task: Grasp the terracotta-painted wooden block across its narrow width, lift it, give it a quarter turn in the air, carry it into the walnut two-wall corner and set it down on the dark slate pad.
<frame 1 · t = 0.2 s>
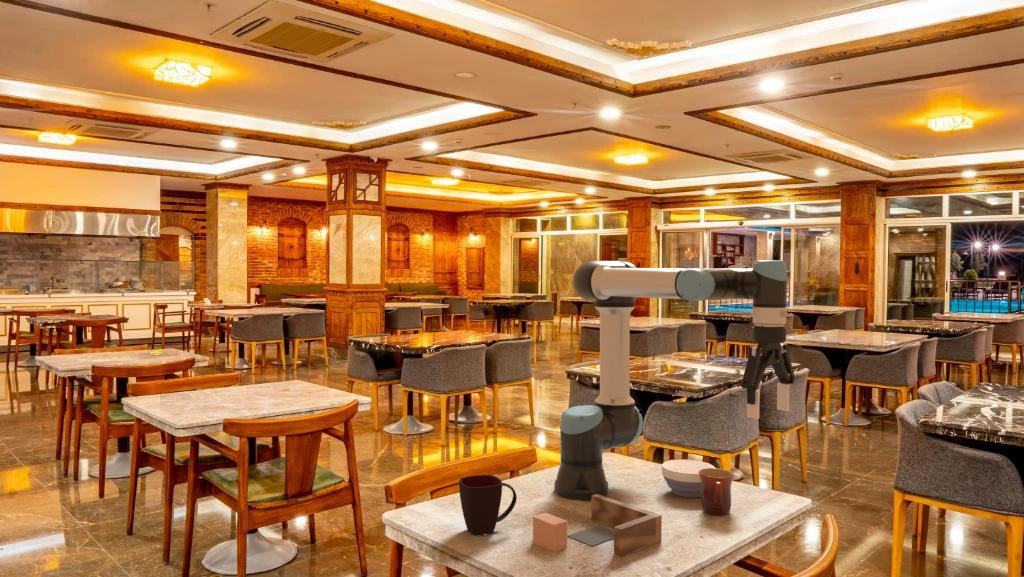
hand: (768, 414, 169), 28 cm above the table, fingers open, 13 cm apart
mug 2: (488, 530, 169), on the table
block: (549, 545, 160), on the table
bowl: (688, 494, 198), on the table
corner walls: (624, 529, 170), on the table
mug: (716, 515, 180), on the table
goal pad: (595, 535, 166), on the table
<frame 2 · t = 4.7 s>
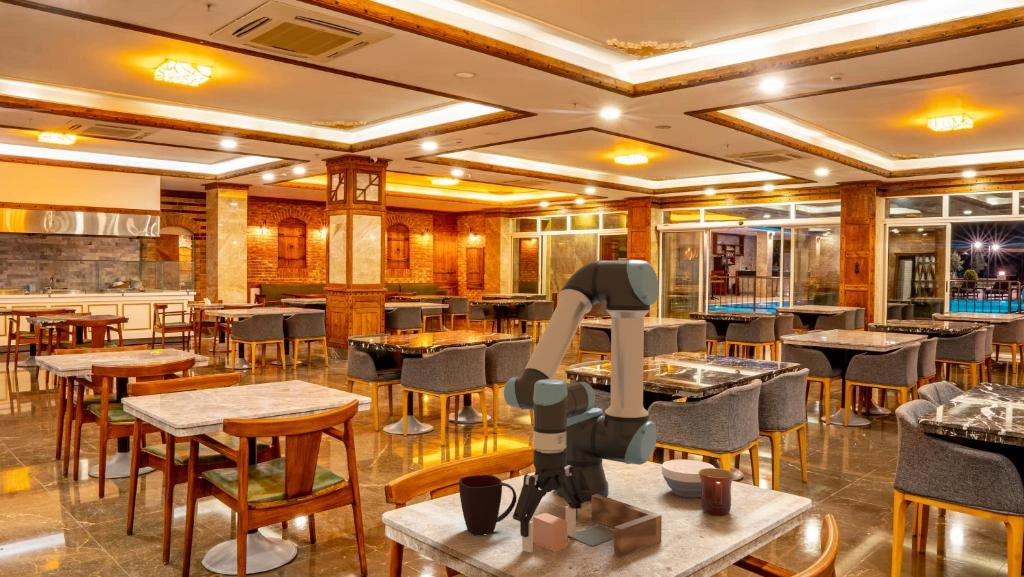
hand: (549, 542, 160), 0 cm above the table, fingers open, 13 cm apart
nothing on the table moved.
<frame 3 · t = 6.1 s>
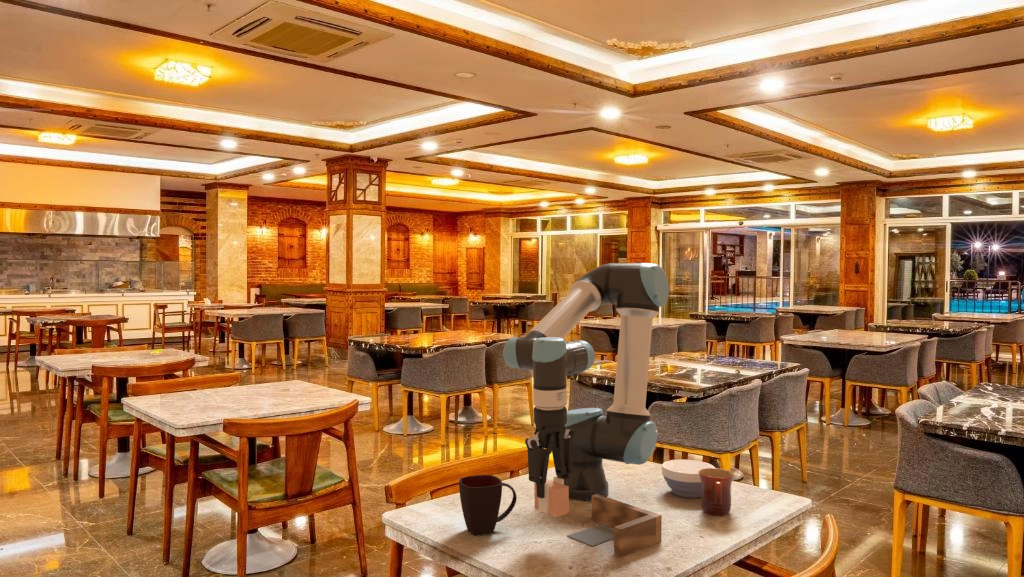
hand: (551, 508, 161), 8 cm above the table, fingers closed on block, 4 cm apart
block: (551, 510, 161), point 8 cm above the table, touching gripper
everything else where it was.
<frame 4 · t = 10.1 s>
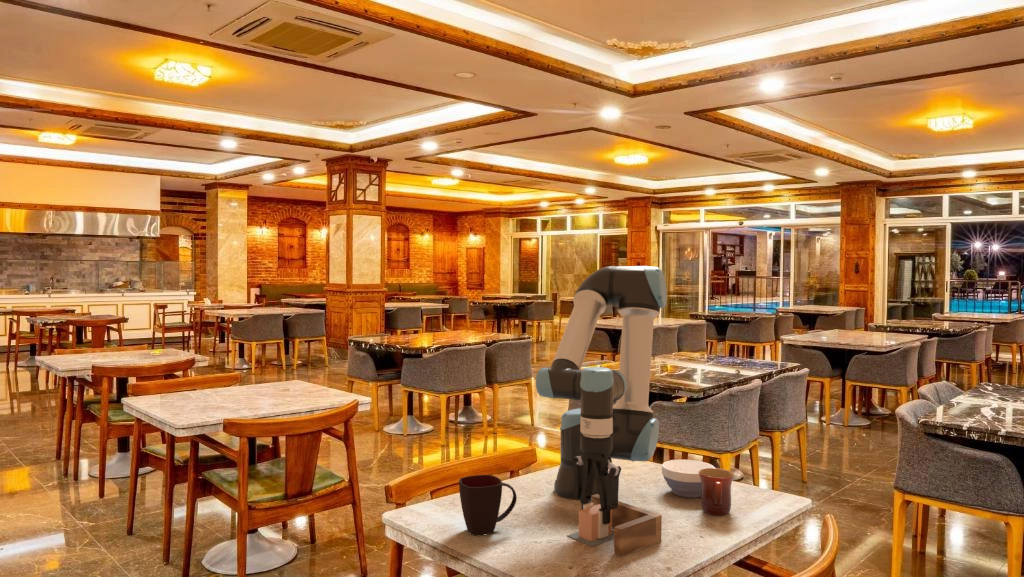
hand: (595, 533, 166), 0 cm above the table, fingers closed on block, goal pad, 4 cm apart
block: (595, 535, 166), resting on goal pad, touching gripper
everything else where it was.
when the fingers open (0 cm above the table, at t = 11.5 s): block stays where it is, resting on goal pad.
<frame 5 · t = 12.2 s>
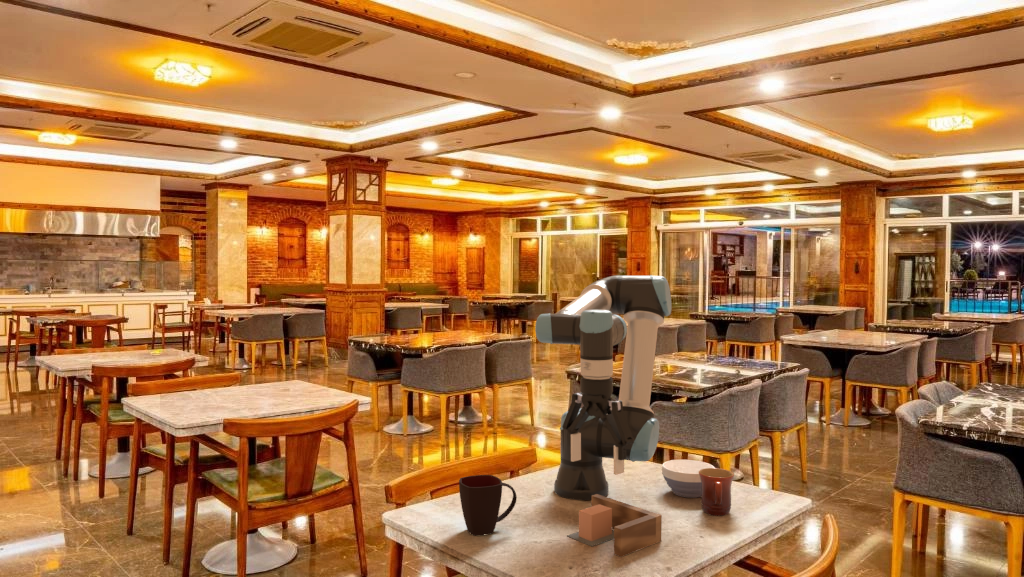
hand: (596, 466, 166), 16 cm above the table, fingers open, 13 cm apart
block: (595, 535, 166), resting on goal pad
everything else where it was.
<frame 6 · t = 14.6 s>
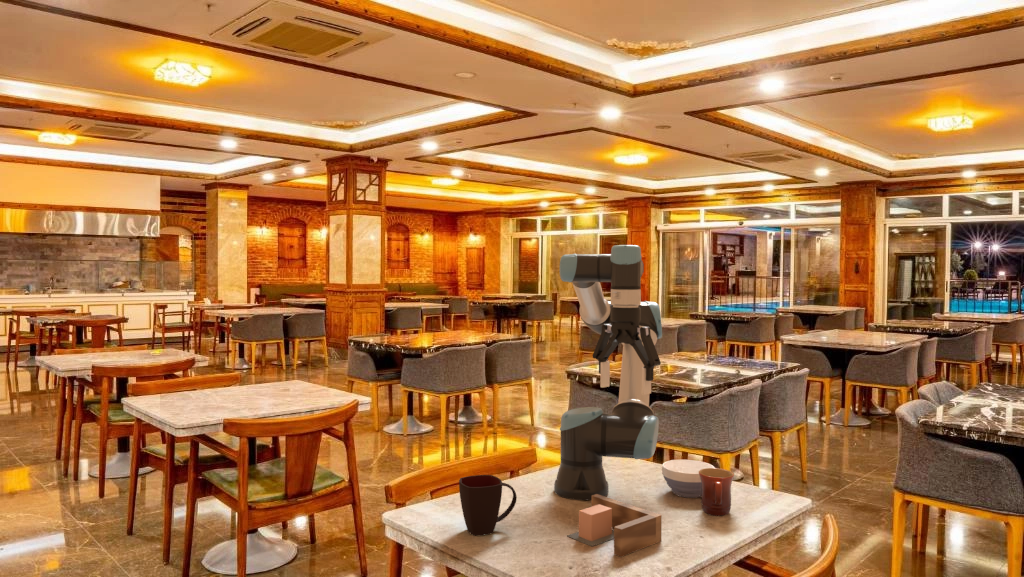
hand: (625, 390, 179), 32 cm above the table, fingers open, 13 cm apart
nothing on the table moved.
at the end: block inside the target area on the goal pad (0.2 cm from its centre), point 0.2 cm above the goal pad's base; block tilted 0°; the gripper is holding nothing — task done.
